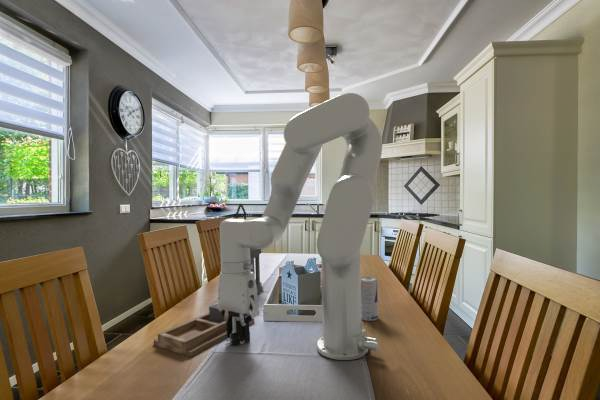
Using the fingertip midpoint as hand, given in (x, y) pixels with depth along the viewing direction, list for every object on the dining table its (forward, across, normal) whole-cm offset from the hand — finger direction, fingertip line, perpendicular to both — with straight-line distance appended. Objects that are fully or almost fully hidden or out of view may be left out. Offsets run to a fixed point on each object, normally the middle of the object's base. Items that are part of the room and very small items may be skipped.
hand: (238, 336), depth 86 cm
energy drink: (+2, -24, -32) cm, 40 cm away
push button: (+2, 0, 0) cm, 2 cm away
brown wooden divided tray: (+2, +12, -1) cm, 12 cm away
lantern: (+2, +30, -37) cm, 48 cm away
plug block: (0, +12, -7) cm, 14 cm away
